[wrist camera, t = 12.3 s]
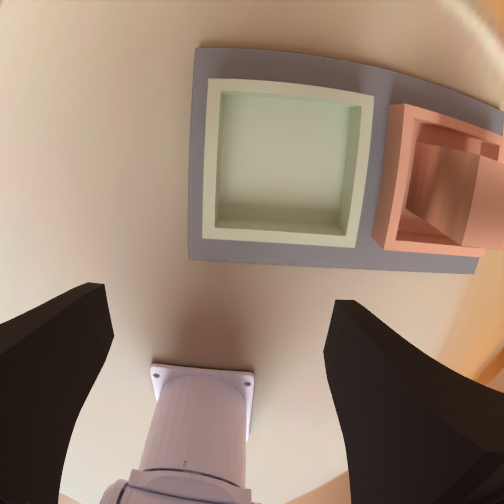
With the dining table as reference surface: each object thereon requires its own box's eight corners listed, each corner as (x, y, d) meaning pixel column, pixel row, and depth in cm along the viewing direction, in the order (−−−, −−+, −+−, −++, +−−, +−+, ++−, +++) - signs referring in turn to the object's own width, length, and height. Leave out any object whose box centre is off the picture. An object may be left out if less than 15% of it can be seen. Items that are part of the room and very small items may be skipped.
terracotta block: (454, 216, 17) (513, 252, 11) (405, 208, 17) (461, 245, 11) (465, 156, 15) (531, 175, 10) (415, 142, 15) (480, 154, 10)
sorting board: (469, 270, 19) (488, 286, 17) (190, 255, 19) (181, 274, 16) (498, 111, 15) (523, 114, 12) (197, 50, 14) (188, 38, 12)
